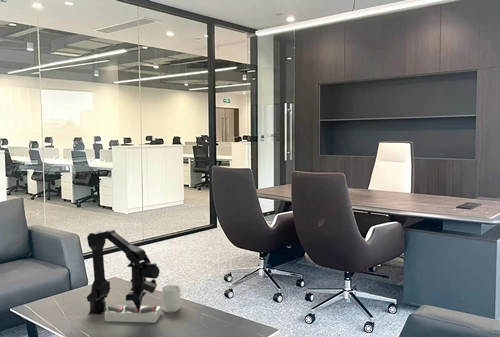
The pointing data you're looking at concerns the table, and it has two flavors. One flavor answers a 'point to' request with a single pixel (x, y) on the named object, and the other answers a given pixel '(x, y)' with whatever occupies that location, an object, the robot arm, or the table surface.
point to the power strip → (133, 315)
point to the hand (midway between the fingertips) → (138, 309)
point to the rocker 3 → (148, 309)
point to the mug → (171, 298)
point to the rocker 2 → (131, 308)
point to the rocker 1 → (115, 308)
